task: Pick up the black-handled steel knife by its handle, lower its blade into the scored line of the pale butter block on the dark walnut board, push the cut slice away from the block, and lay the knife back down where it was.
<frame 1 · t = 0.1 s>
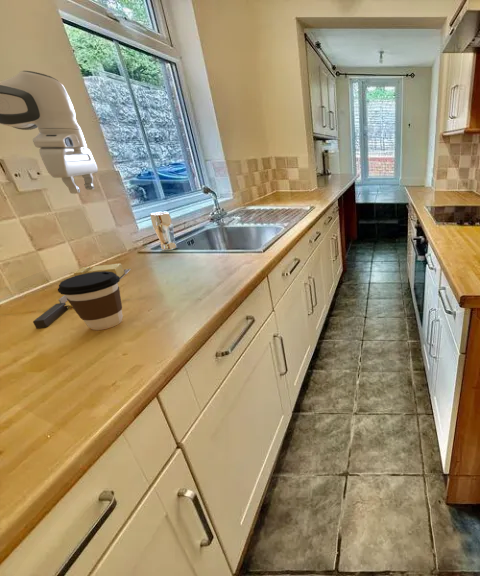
hand: (83, 191, 95), 28 cm above the worktop, tool pointing down, fingers open, 8 cm apart
butter block: (108, 277, 102), point 1 cm above the worktop, touching cutting board
coffee cup: (106, 324, 78), on the worktop
cutting board: (99, 283, 102), on the worktop
knife: (53, 318, 81), on the worktop
beer glass: (169, 248, 136), on the worktop
butter slice: (86, 279, 100), point 1 cm above the worktop, touching cutting board
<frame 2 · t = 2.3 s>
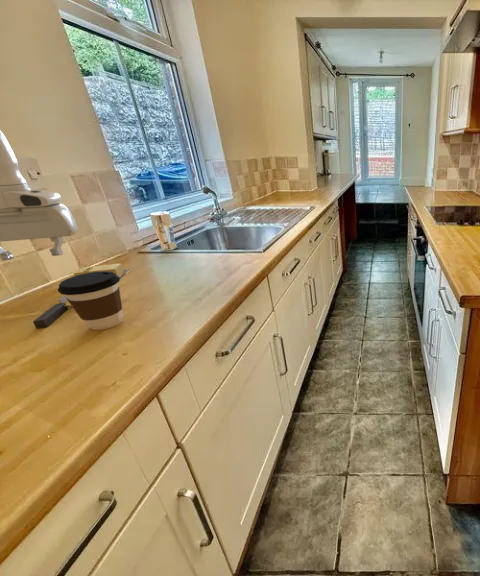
hand: (33, 257, 76), 16 cm above the worktop, tool pointing down, fingers open, 8 cm apart
nothing on the worktop moved.
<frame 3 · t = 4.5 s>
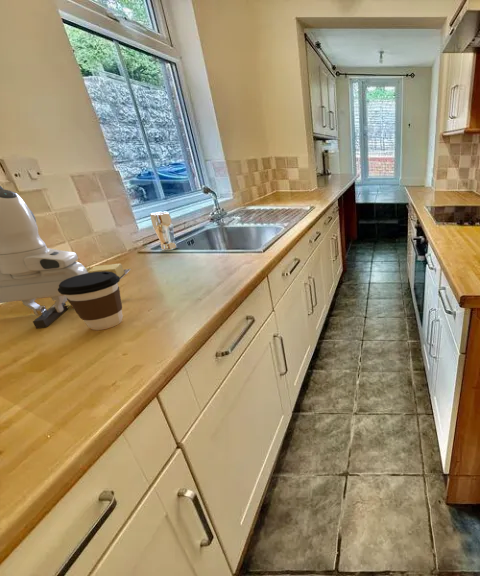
hand: (50, 312, 80), 2 cm above the worktop, tool pointing down, fingers closed on knife, 2 cm apart
knife: (53, 318, 81), on the worktop, touching gripper
everything else where it was.
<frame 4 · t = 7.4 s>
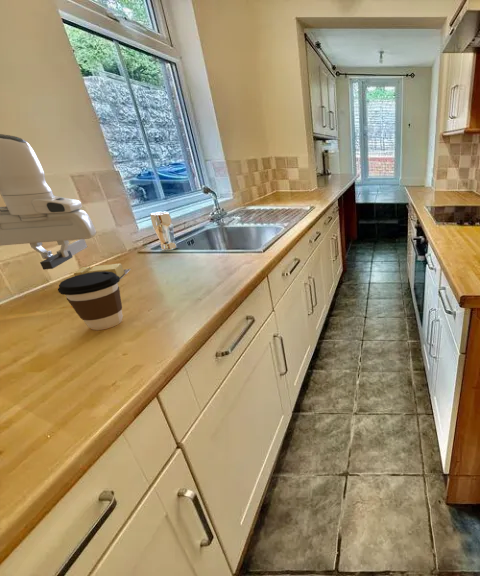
hand: (56, 257, 85), 13 cm above the worktop, tool pointing down, fingers closed on knife
knife: (58, 263, 86), point 11 cm above the worktop, touching gripper
everything else where it was.
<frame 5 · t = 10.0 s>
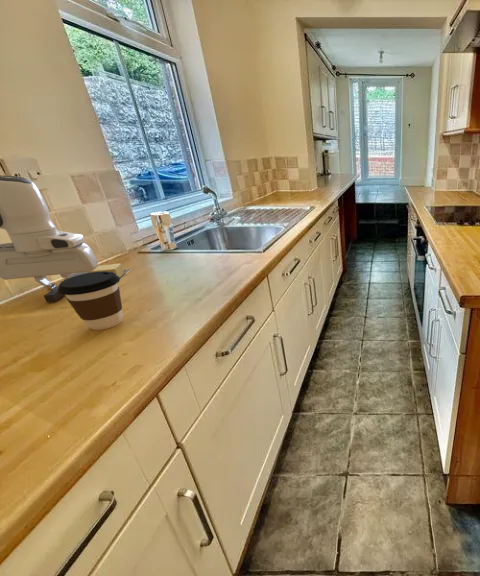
hand: (59, 289, 89), 4 cm above the worktop, tool pointing down, fingers closed on knife, 2 cm apart
knife: (61, 294, 89), point 2 cm above the worktop, touching butter slice, gripper
butter slice: (79, 280, 100), point 2 cm above the worktop, touching knife
everything else where it was.
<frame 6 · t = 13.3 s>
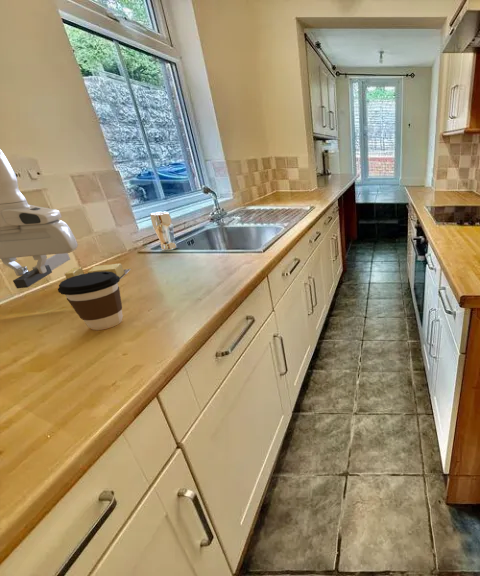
hand: (32, 273, 76), 12 cm above the worktop, tool pointing down, fingers closed on knife
knife: (35, 280, 77), point 10 cm above the worktop, touching gripper
butter slice: (77, 280, 99), point 1 cm above the worktop, touching cutting board
everything else where it was.
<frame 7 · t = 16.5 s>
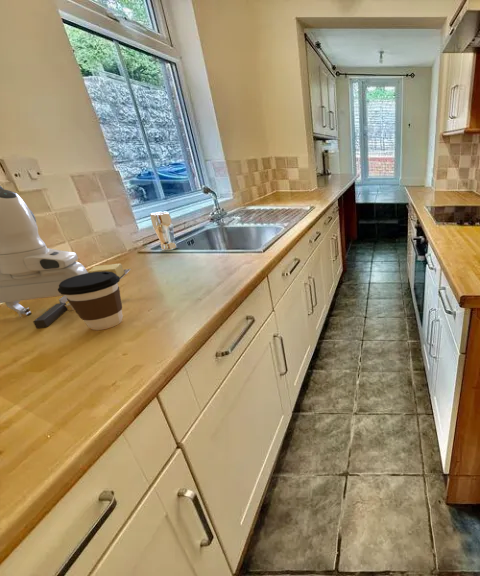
hand: (50, 312, 80), 2 cm above the worktop, tool pointing down, fingers open, 8 cm apart
knife: (53, 318, 81), on the worktop
everything else where it was.
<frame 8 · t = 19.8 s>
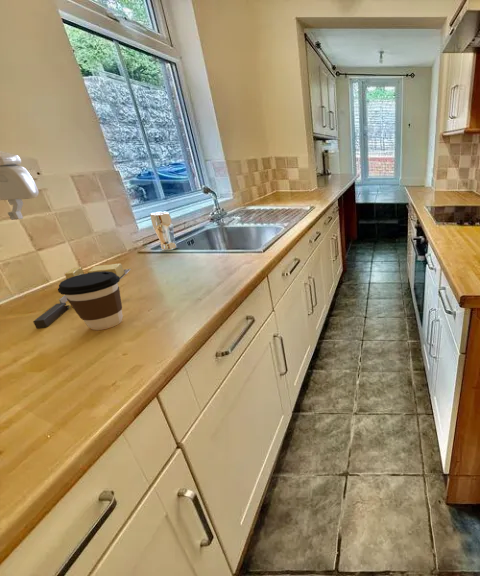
nothing on the worktop moved.
at the end: butter slice moved 2.2 cm from its start; butter block moved 0.0 cm from its start; knife inside the target area (0.0 cm from its centre), on the worktop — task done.
